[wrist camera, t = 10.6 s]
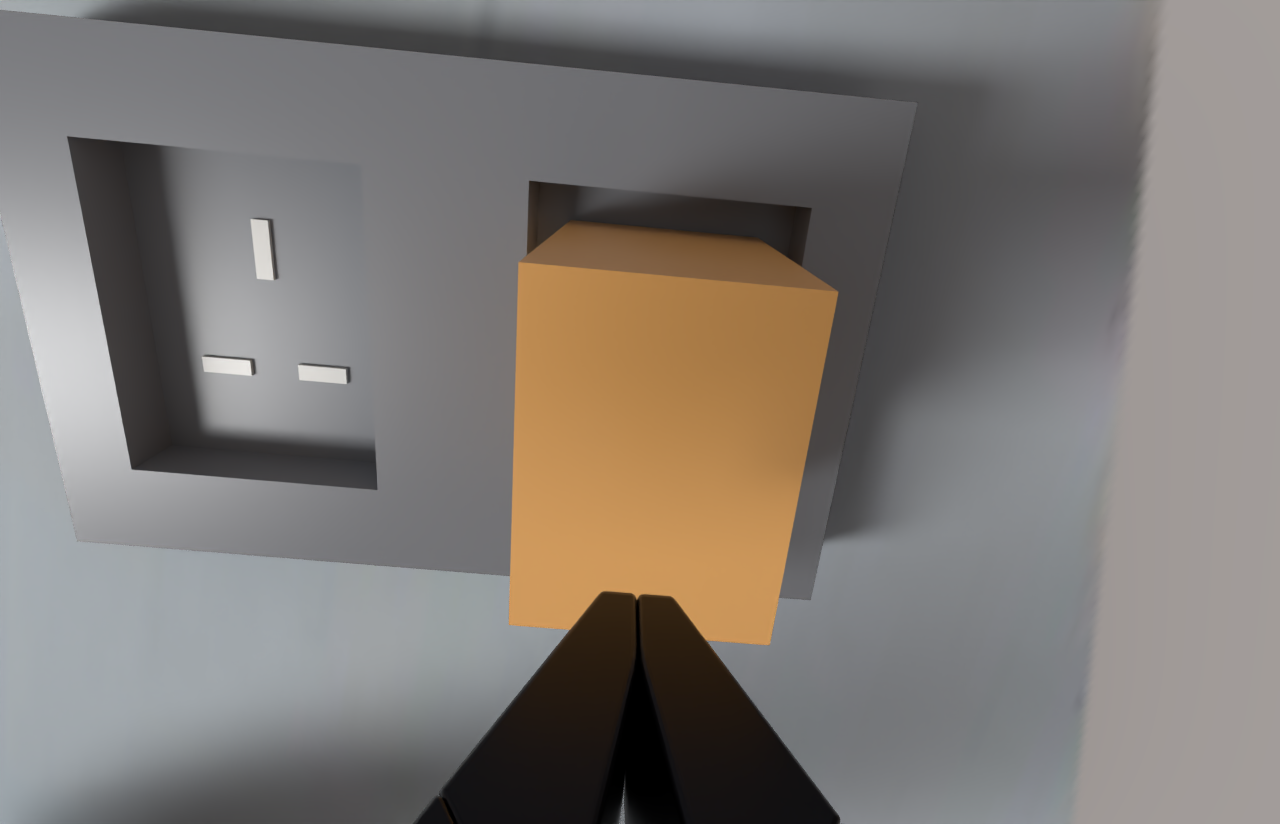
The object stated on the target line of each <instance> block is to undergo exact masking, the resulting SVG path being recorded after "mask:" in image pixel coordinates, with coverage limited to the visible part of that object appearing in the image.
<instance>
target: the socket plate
mask: <svg viewBox="0 0 1280 824" xmlns="http://www.w3.org/2000/svg"><path fill="white" fill-rule="evenodd" d="M917 105H918V102H908V101H898V100H888V99H878V98H868V97H858V96H848V95H838V94H829V93H819V92H809V91H799V90H789V89H779V88H769V87H759V86H749V85H739V84H729V83H720V82H710V81H700V80H690V79H680V78H670V77H660V76H650V75H640V74H630V73H620V72H611V71H601V70H591V69H581V68H571V67H561V66H551V65H541V64H531V63H521V62H512V61H502V60H492V59H482V58H472V57H462V56H452V55H442V54H432V53H422V52H412V51H403V50H393V49H383V48H373V47H363V46H353V45H343V44H333V43H323V42H313V41H303V40H294V39H284V38H274V37H264V36H254V35H244V34H234V33H224V32H214V31H204V30H194V29H185V28H175V27H165V26H155V25H145V24H135V23H125V22H115V21H105V20H95V19H86V18H76V17H66V16H56V15H46V14H36V13H26V12H16V11H6V10H0V215H1V219H2V224H3V228H4V232H5V236H6V241H7V245H8V249H9V253H10V258H11V262H12V266H13V270H14V275H15V279H16V283H17V287H18V292H19V296H20V300H21V304H22V309H23V313H24V317H25V321H26V326H27V330H28V334H29V338H30V343H31V347H32V351H33V355H34V360H35V364H36V368H37V372H38V377H39V381H40V385H41V390H42V394H43V398H44V402H45V407H46V411H47V415H48V419H49V424H50V428H51V432H52V436H53V441H54V445H55V449H56V453H57V458H58V462H59V466H60V470H61V475H62V479H63V483H64V487H65V492H66V496H67V500H68V504H69V509H70V513H71V517H72V521H73V526H74V530H75V534H76V538H77V541H80V542H92V543H105V544H117V545H129V546H142V547H154V548H167V549H179V550H192V551H204V552H217V553H229V554H242V555H254V556H266V557H279V558H291V559H304V560H316V561H329V562H341V563H354V564H366V565H379V566H391V567H403V568H416V569H428V570H441V571H453V572H466V573H478V574H491V575H503V576H510V562H511V524H512V487H513V449H514V411H515V374H516V336H517V299H518V262H519V261H520V260H522V259H523V258H524V257H525V256H527V255H528V254H529V253H530V252H532V251H533V250H534V249H535V248H537V247H538V246H539V245H540V244H542V243H543V242H544V241H545V240H547V239H548V238H549V237H550V236H552V235H553V234H554V233H555V232H557V231H558V230H559V229H560V228H562V227H563V226H564V225H565V224H567V223H568V222H569V221H570V220H576V221H587V222H598V223H608V224H619V225H629V226H640V227H651V228H661V229H672V230H682V231H693V232H704V233H714V234H725V235H735V236H746V237H757V238H759V239H760V240H762V241H763V242H765V243H766V244H768V245H769V246H771V247H772V248H774V249H775V250H777V251H778V252H780V253H781V254H783V255H784V256H786V257H787V258H789V259H790V260H792V261H793V262H795V263H796V264H798V265H799V266H801V267H802V268H804V269H805V270H807V271H808V272H810V273H811V274H813V275H814V276H816V277H817V278H819V279H820V280H822V281H823V282H825V283H826V284H828V285H829V286H831V287H832V288H834V289H835V290H837V291H838V297H837V302H836V308H835V313H834V318H833V323H832V328H831V333H830V338H829V343H828V349H827V354H826V359H825V364H824V369H823V374H822V379H821V384H820V390H819V395H818V400H817V405H816V410H815V415H814V420H813V425H812V431H811V436H810V441H809V446H808V451H807V456H806V461H805V466H804V472H803V477H802V482H801V487H800V492H799V497H798V502H797V507H796V513H795V518H794V523H793V528H792V533H791V538H790V543H789V548H788V554H787V559H786V564H785V569H784V574H783V579H782V584H781V589H780V595H779V598H790V599H802V600H811V596H812V591H813V587H814V582H815V577H816V573H817V568H818V563H819V559H820V554H821V549H822V545H823V540H824V536H825V531H826V526H827V522H828V517H829V512H830V508H831V503H832V499H833V494H834V489H835V485H836V480H837V475H838V471H839V466H840V461H841V457H842V452H843V448H844V443H845V438H846V434H847V429H848V424H849V420H850V415H851V410H852V406H853V401H854V397H855V392H856V387H857V383H858V378H859V373H860V369H861V364H862V360H863V355H864V350H865V346H866V341H867V336H868V332H869V327H870V322H871V318H872V313H873V309H874V304H875V299H876V295H877V290H878V285H879V281H880V276H881V271H882V267H883V262H884V258H885V253H886V248H887V244H888V239H889V234H890V230H891V225H892V220H893V216H894V211H895V207H896V202H897V197H898V193H899V188H900V183H901V179H902V174H903V170H904V165H905V160H906V156H907V151H908V146H909V142H910V137H911V132H912V128H913V123H914V119H915V114H916V109H917Z"/></svg>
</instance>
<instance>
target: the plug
mask: <svg viewBox="0 0 1280 824" xmlns="http://www.w3.org/2000/svg"><path fill="white" fill-rule="evenodd" d="M837 297H838V291H837V290H835V289H834V288H832V287H831V286H829V285H828V284H826V283H825V282H823V281H822V280H820V279H819V278H817V277H816V276H814V275H813V274H811V273H810V272H808V271H807V270H805V269H804V268H802V267H801V266H799V265H798V264H796V263H795V262H793V261H792V260H790V259H789V258H787V257H786V256H784V255H783V254H781V253H780V252H778V251H777V250H775V249H774V248H772V247H771V246H769V245H768V244H766V243H765V242H763V241H762V240H760V239H759V238H757V237H746V236H735V235H725V234H714V233H704V232H693V231H682V230H672V229H661V228H651V227H640V226H629V225H619V224H608V223H598V222H587V221H576V220H570V221H569V222H568V223H567V224H565V225H564V226H563V227H562V228H560V229H559V230H558V231H557V232H555V233H554V234H553V235H552V236H550V237H549V238H548V239H547V240H545V241H544V242H543V243H542V244H540V245H539V246H538V247H537V248H535V249H534V250H533V251H532V252H530V253H529V254H528V255H527V256H525V257H524V258H523V259H522V260H520V261H519V262H518V299H517V336H516V374H515V411H514V449H513V487H512V524H511V562H510V599H509V625H516V626H529V627H541V628H554V629H567V630H570V629H571V628H572V627H573V626H574V624H575V623H576V622H577V621H578V619H579V618H580V617H581V616H582V614H583V613H584V612H585V611H586V609H587V608H588V607H589V606H590V604H591V603H592V602H593V601H594V600H595V598H596V597H597V596H598V595H599V594H600V593H601V592H603V591H612V592H625V593H632V594H634V595H635V596H636V599H637V598H638V597H639V595H641V594H651V595H664V596H671V597H673V598H674V599H675V600H676V601H677V603H678V604H679V605H680V607H681V608H682V609H683V610H684V612H685V613H686V614H687V616H688V617H689V618H690V620H691V621H692V622H693V624H694V625H695V626H696V628H697V629H698V630H699V632H700V633H701V634H702V636H703V637H704V638H705V640H708V641H721V642H734V643H747V644H759V645H770V641H771V636H772V630H773V625H774V620H775V615H776V610H777V605H778V600H779V595H780V589H781V584H782V579H783V574H784V569H785V564H786V559H787V554H788V548H789V543H790V538H791V533H792V528H793V523H794V518H795V513H796V507H797V502H798V497H799V492H800V487H801V482H802V477H803V472H804V466H805V461H806V456H807V451H808V446H809V441H810V436H811V431H812V425H813V420H814V415H815V410H816V405H817V400H818V395H819V390H820V384H821V379H822V374H823V369H824V364H825V359H826V354H827V349H828V343H829V338H830V333H831V328H832V323H833V318H834V313H835V308H836V302H837Z"/></svg>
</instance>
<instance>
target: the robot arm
mask: <svg viewBox="0 0 1280 824" xmlns="http://www.w3.org/2000/svg"><path fill="white" fill-rule="evenodd" d="M623 789H624V810H625V824H840V817H839V815H838V814H837V813H836V811H835V810H834V809H833V807H832V806H831V805H830V804H829V802H828V801H827V800H826V798H825V797H824V796H823V794H822V793H821V792H820V790H819V789H818V788H817V786H816V785H815V784H814V782H813V781H812V780H811V778H810V777H809V776H808V774H807V773H806V772H805V770H804V769H803V768H802V766H801V765H800V764H799V763H798V761H797V760H796V759H795V757H794V756H793V755H792V753H791V752H790V751H789V749H788V748H787V747H786V745H785V744H784V743H783V741H782V740H781V739H780V737H779V736H778V735H777V733H776V732H775V731H774V729H773V728H772V727H771V726H770V724H769V723H768V722H767V720H766V719H765V718H764V716H763V715H762V714H761V712H760V711H759V710H758V708H757V707H756V706H755V704H754V703H753V702H752V700H751V699H750V698H749V696H748V695H747V694H746V692H745V691H744V690H743V688H742V687H741V686H740V685H739V683H738V682H737V681H736V679H735V678H734V677H733V675H732V674H731V673H730V671H729V670H728V669H727V667H726V666H725V665H724V663H723V662H722V661H721V659H720V658H719V657H718V655H717V654H716V653H715V651H714V650H713V649H712V648H711V646H710V645H709V644H708V642H707V641H706V640H705V638H704V637H703V636H702V634H701V633H700V632H699V630H698V629H697V628H696V626H695V625H694V624H693V622H692V621H691V620H690V618H689V617H688V616H687V614H686V613H685V612H684V610H683V609H682V608H681V607H680V605H679V604H678V603H677V601H676V600H675V599H674V598H673V597H671V596H664V595H651V594H641V595H639V597H638V598H637V599H636V596H635V595H634V594H632V593H625V592H612V591H603V592H601V593H600V594H599V595H598V596H597V597H596V598H595V600H594V601H593V602H592V603H591V604H590V606H589V607H588V608H587V609H586V611H585V612H584V613H583V614H582V616H581V617H580V618H579V619H578V621H577V622H576V623H575V624H574V626H573V627H572V628H571V629H570V630H569V632H568V633H567V634H566V635H565V637H564V638H563V639H562V640H561V642H560V643H559V644H558V645H557V647H556V648H555V649H554V650H553V651H552V653H551V654H550V655H549V656H548V658H547V659H546V660H545V661H544V663H543V664H542V665H541V666H540V668H539V669H538V670H537V671H536V672H535V674H534V675H533V676H532V677H531V679H530V680H529V681H528V682H527V684H526V685H525V686H524V687H523V689H522V690H521V691H520V692H519V693H518V695H517V696H516V697H515V698H514V700H513V701H512V702H511V703H510V705H509V706H508V707H507V708H506V710H505V711H504V712H503V713H502V714H501V716H500V717H499V718H498V719H497V721H496V722H495V723H494V724H493V726H492V727H491V728H490V729H489V731H488V732H487V733H486V734H485V735H484V737H483V738H482V739H481V740H480V742H479V743H478V744H477V745H476V747H475V748H474V749H473V750H472V752H471V753H470V754H469V755H468V756H467V758H466V759H465V760H464V761H463V763H462V764H461V765H460V766H459V768H458V769H457V770H456V771H455V773H454V774H453V775H452V776H451V778H450V779H449V780H448V781H447V782H446V784H445V785H444V786H443V787H442V789H441V790H440V793H439V796H436V797H434V798H433V799H432V800H431V802H430V803H429V804H428V805H427V807H426V808H425V809H424V810H423V811H422V813H421V814H420V815H419V816H418V818H417V819H416V820H415V821H414V823H413V824H619V820H620V813H621V806H622V798H623Z"/></svg>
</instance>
